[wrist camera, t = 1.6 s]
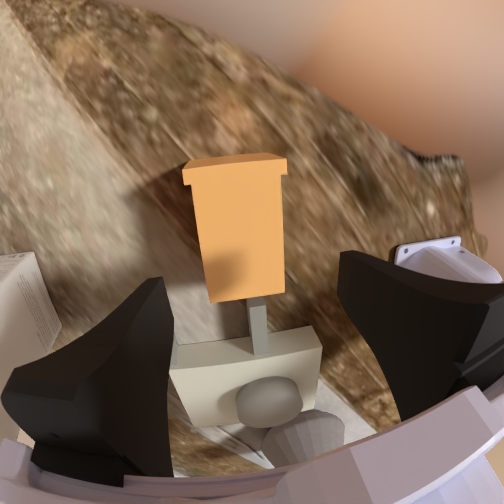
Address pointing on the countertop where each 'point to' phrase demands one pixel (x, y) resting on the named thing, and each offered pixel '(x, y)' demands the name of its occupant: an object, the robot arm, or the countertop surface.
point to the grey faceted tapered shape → (303, 438)
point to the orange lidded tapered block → (239, 223)
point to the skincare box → (22, 322)
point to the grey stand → (248, 374)
